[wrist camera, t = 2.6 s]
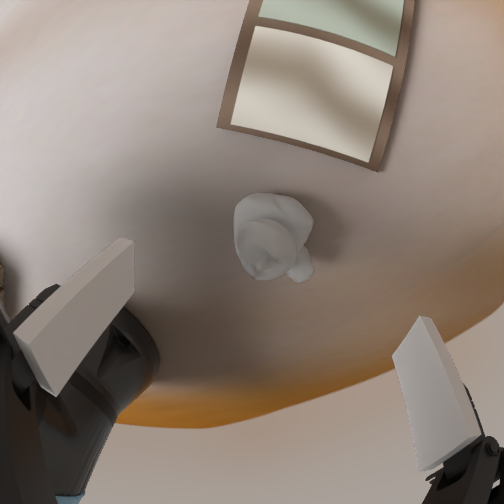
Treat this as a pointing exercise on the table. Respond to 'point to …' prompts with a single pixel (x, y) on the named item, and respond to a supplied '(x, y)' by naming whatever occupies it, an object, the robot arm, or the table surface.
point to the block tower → (1, 282)
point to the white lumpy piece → (273, 237)
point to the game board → (320, 74)
